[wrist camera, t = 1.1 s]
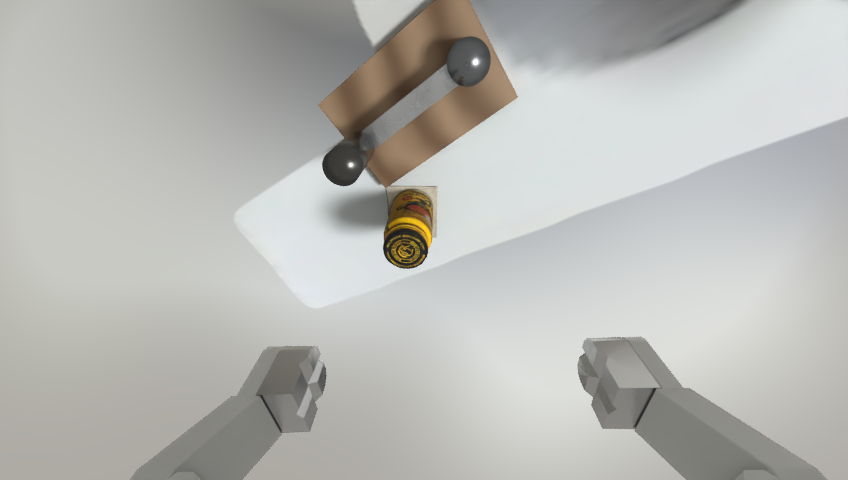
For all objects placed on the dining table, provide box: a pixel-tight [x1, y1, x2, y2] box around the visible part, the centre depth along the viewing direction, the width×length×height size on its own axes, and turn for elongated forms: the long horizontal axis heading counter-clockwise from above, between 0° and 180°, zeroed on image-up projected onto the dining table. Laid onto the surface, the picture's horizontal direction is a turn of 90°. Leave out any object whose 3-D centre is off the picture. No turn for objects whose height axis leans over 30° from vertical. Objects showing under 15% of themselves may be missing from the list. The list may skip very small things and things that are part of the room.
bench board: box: [319, 0, 518, 188], centre depth 36 cm, size 20×13×2 cm, turn 125°
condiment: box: [383, 186, 437, 269], centre depth 40 cm, size 7×8×12 cm
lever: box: [322, 36, 491, 186], centre depth 31 cm, size 19×4×10 cm, turn 125°
